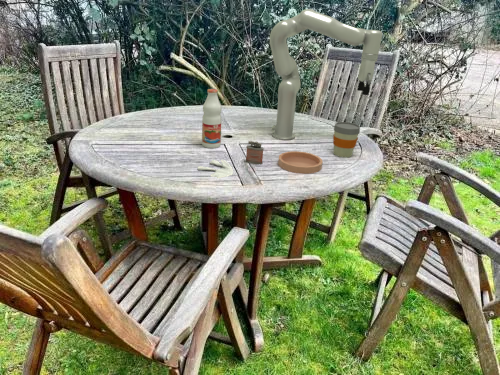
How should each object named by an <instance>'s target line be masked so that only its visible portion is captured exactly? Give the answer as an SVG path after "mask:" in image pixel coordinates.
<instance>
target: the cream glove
mask: <svg viewBox="0 0 500 375" xmlns="http://www.w3.org/2000/svg"><path fill="white" fill-rule="evenodd" d="M209 164H210V165H213V166H214V167H219V168H218V169H215V168H213V167H207V166H202V165H201V166H199V165H198V166H197V171H205V172H213V173H212V174H210V178H211V177H212V178H216V179H222V178H227V177H230V176H232V175H233V174H234V170H233V167H232V166H231V165H230V163H229V162H227V161H226V160H225V159H221V160H220V162H219V161H218V160H215V159H212V160H210V162H209Z"/></svg>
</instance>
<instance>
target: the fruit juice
mask: <svg viewBox="0 0 500 375" xmlns="http://www.w3.org/2000/svg"><path fill="white" fill-rule="evenodd" d="M218 92H219V89H217V88H208V89H207V97H206V99H205V102H204V103H203V105H202V112H203V115H202V120H201V121H202V122H201V125H202V126H201V131H202V132H201V143H202V144H201V145H202V146H203V147H204V148H207V149H216V148H217V149H218V148H220V147H221V143H222V115H221V113H222V111H223V110H222V104H221V102H220V100H219V97H218Z"/></svg>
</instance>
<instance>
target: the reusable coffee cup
mask: <svg viewBox="0 0 500 375" xmlns="http://www.w3.org/2000/svg"><path fill="white" fill-rule="evenodd" d="M360 129H361V126H360V125H359V124H356V123H352V122H348V121H347V122H346V121H339V122H335V124H334V127H333V132H334V133H333V136H332V145H333V155H334V156H336V157H340V158H350V157H352V155H353V153H354V149H355V148H356V146H357V142H358V139H359V134H360V133H361V132H360V131H361V130H360Z"/></svg>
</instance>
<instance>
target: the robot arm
mask: <svg viewBox="0 0 500 375" xmlns="http://www.w3.org/2000/svg"><path fill="white" fill-rule="evenodd" d="M306 30H309V31H313V32H315V33H319V34H321V35H322V36H323V35H324V36H326V37H328V38H331V39H334V40H337V41H340V42H342V43H345V44H346V45H347V44H348V45H350V46H353V47H357V46H360V45H362V46H363V47H362V53H361V58H360V59H361V63H360V64H359V65H360V66H359V70H358V74H357V75H358V76H357V79H358V84H357V91H361V94H362V95H363V96H369V94H370V89H371V86H372V85H371V84H372V81H373V77H374V73H375V65H376V62H377V61H378V58H379V52H380V48H381V47H380V46H381V42H382V37H383V31H381V30H378V29H365V28H362V27H361V28H360V27H353V26H351V25H348V24H344V23H342V22H340V21H339V20H338V19H336V18H335V17H331V16H329V15H326V14H324V13H321V12H317V11H315V10H314V9H311V8H305V9H303V10H301V11H300V13H299V14H296V15H294V16H292V17H290V18H288V19H282V20H281V21H279V22H278V23H277V22H276V24H275V25H274V26H273V27H272V29H271V31H270V34H269V45H270V50H271V55H272V60H273V64H274V68H275V72H276V74H277V75H278V76H279V77H281V80H282V81H281V82H280V84H279V85H278V88H277V89H278V90H277V91H278V92H277V100H278V101H277V111H276V112H277V113H276V120H275V121H276V123H275V125H273V126H272V127H271V131H272V130H273V132H272V133H271V135H272V138H275V139H277V140H282V141H283V140H284V141H289V140H290V141H291V140H293V139H295V138H296V135H295V133H294V132H293V130H294V124H295V122H294V121H295V116H296V115H295V114H296V113H295V112H296V105H297V93H298V92H299V90H301V83H302V82H301V78H300V74H299V68H298V64H297V62H296V60H295V58H294V57H293V56H291V55H290V51H289V47H288V43H287V39H288V38H292V37H294V36H296V35H298V34H299V33H303V32H304V31H306Z"/></svg>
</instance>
